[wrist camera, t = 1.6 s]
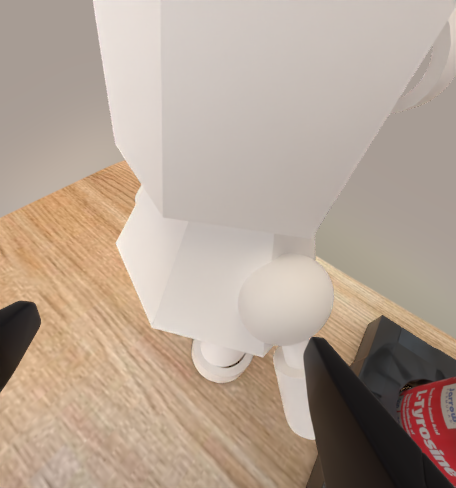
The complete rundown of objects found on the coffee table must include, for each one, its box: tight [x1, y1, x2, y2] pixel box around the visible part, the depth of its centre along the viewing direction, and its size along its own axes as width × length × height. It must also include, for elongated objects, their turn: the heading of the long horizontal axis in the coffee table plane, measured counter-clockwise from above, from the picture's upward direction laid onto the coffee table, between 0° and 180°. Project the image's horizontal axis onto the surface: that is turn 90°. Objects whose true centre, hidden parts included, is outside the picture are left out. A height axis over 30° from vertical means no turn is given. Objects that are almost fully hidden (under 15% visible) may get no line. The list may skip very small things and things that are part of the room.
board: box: [306, 315, 456, 488], centre depth 19 cm, size 13×16×2 cm
